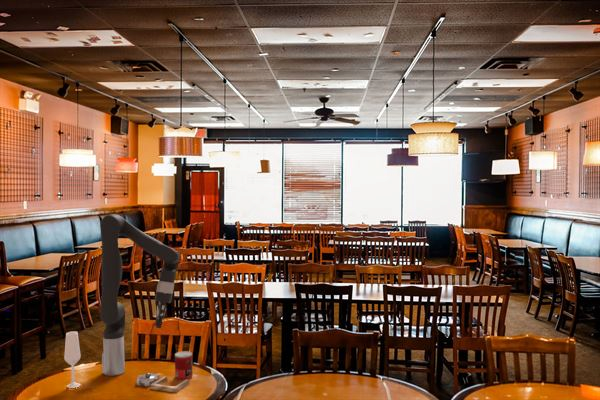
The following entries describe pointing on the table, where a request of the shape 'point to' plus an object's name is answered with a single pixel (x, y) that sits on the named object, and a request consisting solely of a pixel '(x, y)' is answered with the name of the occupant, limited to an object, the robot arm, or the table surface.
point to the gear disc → (147, 379)
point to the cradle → (158, 386)
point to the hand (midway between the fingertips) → (157, 326)
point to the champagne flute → (72, 354)
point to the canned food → (183, 365)
